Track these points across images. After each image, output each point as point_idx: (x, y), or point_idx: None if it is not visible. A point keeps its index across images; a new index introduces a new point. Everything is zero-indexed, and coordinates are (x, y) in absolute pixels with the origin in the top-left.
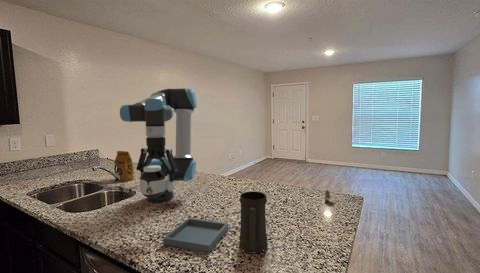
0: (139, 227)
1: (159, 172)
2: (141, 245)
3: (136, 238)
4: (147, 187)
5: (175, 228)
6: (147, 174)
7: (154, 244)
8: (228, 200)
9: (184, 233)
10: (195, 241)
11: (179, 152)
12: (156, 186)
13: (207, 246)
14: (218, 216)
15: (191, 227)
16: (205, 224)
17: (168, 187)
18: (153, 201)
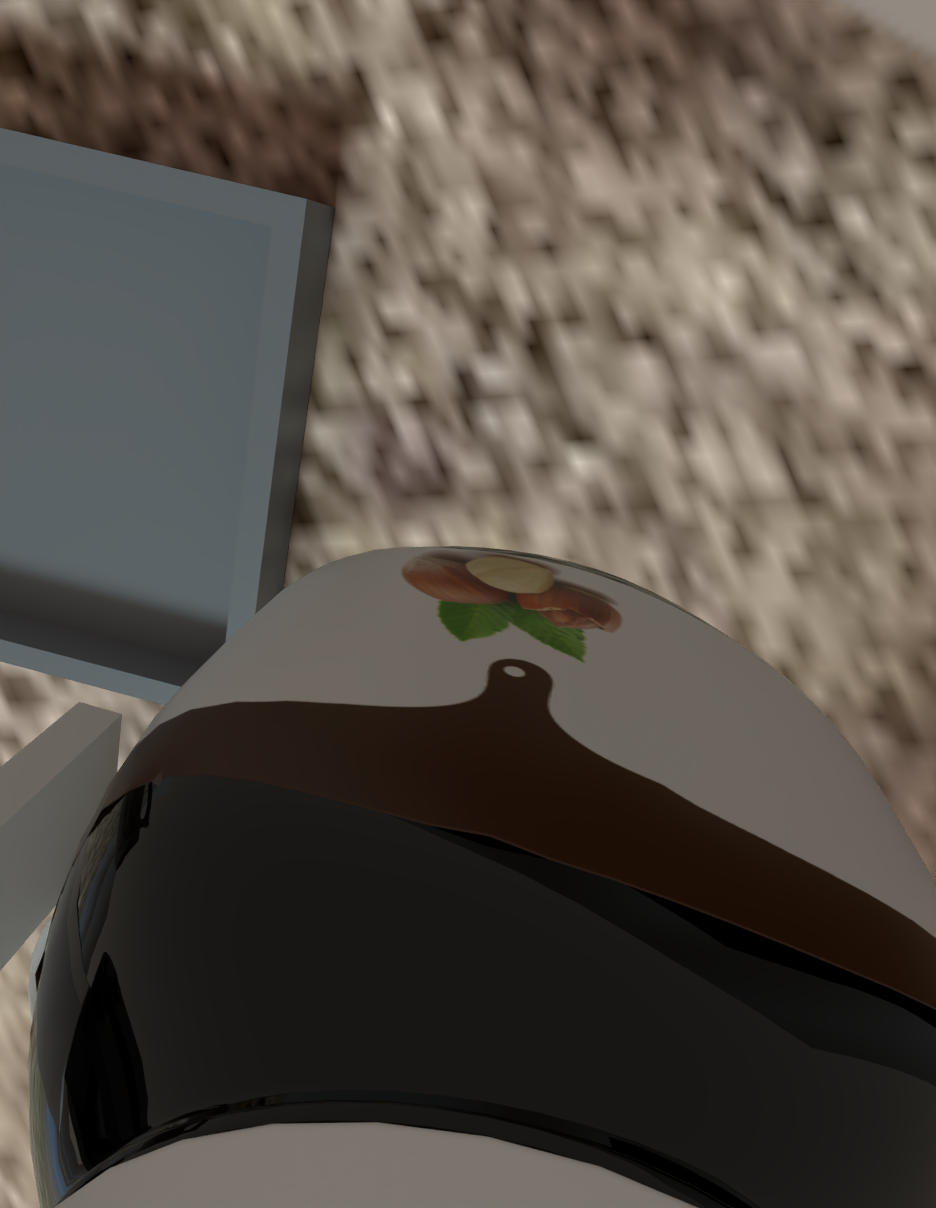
0: (788, 613)
1: (45, 1198)
2: (586, 184)
3: (717, 347)
4: (564, 641)
5: (270, 459)
6: (528, 990)
7: (446, 224)
8: None
9: (202, 457)
10: (15, 285)
11: None
12: (249, 623)
13: None
14: None
15: (186, 593)
16: (51, 633)
17: (57, 743)
18: None
